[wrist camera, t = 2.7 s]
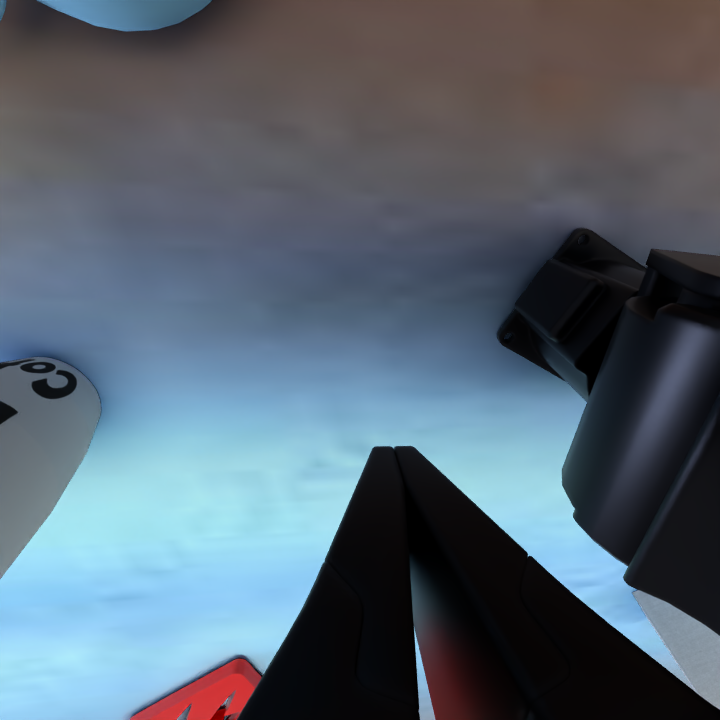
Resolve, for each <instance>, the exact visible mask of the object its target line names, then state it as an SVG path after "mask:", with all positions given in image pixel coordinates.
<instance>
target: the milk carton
mask: <svg viewBox="0 0 720 720" xmlns="http://www.w3.org/2000/svg"><path fill="white" fill-rule="evenodd" d="M632 594H633V595H634V597H635V599H636V600H637V602H638V604H639V605H640V607H641V609H642V610H643V612H644V614H645V615H646V617H647V619H648V620H649V622H650V623H651V625H652V626H653V628H654V629H655V631H656V632H657V634H658V635H659V637H660V639H661V640H662V642H663V643H664V645H665V646H666V648H667V649H668V651H669V652H670V654H671V655H672V657H673V658H674V660H675V661H676V663H677V664H678V666H679V667H680V669H681V670H682V672H683V673H684V675H685V676H686V678H687V680H688V681H689V683H690V684H691V686H692V687H693V689H694V690H695V692H696V693H697V694H699V695H700V696H701V697H703V698H704V699H705V700H707V701H708V702H709V703H711V704H712V705H713V706H715V707H717V708H718V709H720V636H719V635H718V634H716V633H715V632H714V631H712V630H711V629H710V628H708V627H707V626H706V625H704V624H702V623H701V622H699V621H697V620H696V619H694V618H692V617H691V616H689V615H687V614H686V613H684V612H682V611H681V610H679V609H677V608H676V607H674V606H672V605H671V604H669V603H667V602H665V601H663V600H660V599H658V598H656V597H654V596H651V595H649V594H647V593H644V592H642V591H640V590H637V591H635V592H632Z"/></svg>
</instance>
